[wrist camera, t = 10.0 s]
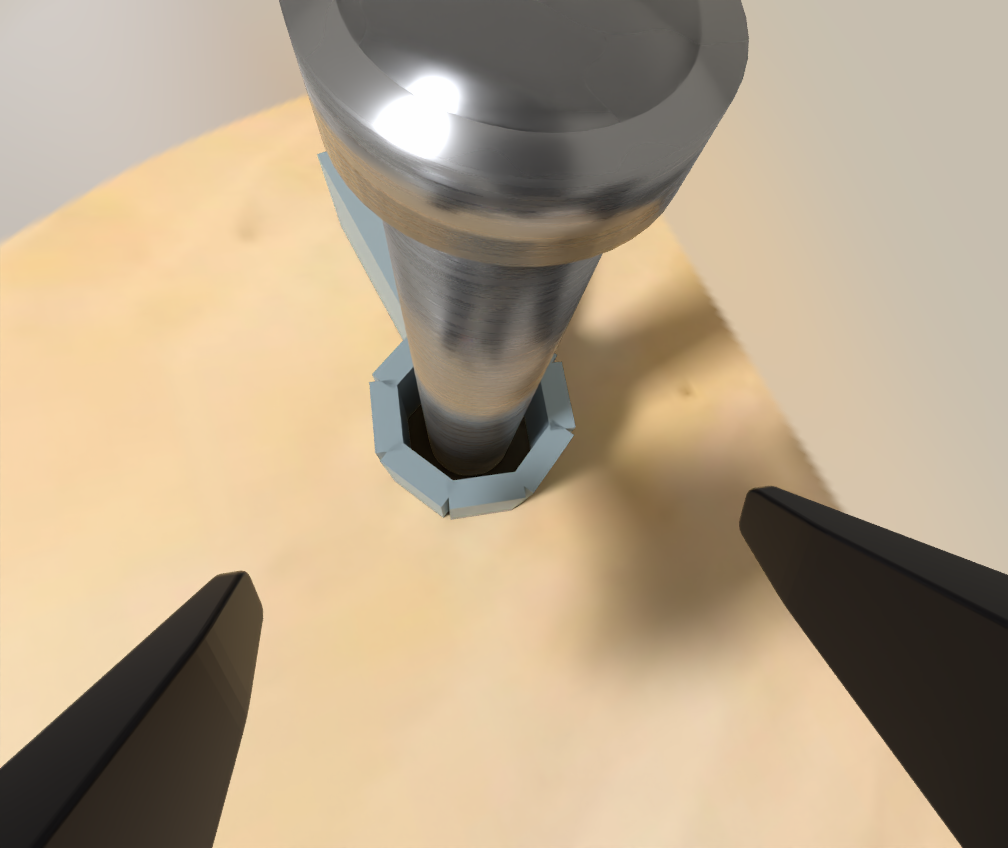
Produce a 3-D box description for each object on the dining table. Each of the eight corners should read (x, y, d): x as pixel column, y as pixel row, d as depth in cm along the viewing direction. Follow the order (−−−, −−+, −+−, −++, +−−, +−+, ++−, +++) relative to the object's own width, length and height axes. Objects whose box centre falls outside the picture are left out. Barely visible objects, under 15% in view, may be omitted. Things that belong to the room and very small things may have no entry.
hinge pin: (534, 464, 17) (834, 115, 4) (439, 502, 16) (366, 235, 3) (496, 376, 18) (625, -170, 4) (404, 408, 17) (222, -136, 4)
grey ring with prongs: (589, 498, 17) (623, 483, 13) (364, 532, 16) (340, 526, 12) (528, 208, 20) (543, 139, 17) (340, 218, 19) (316, 146, 16)
